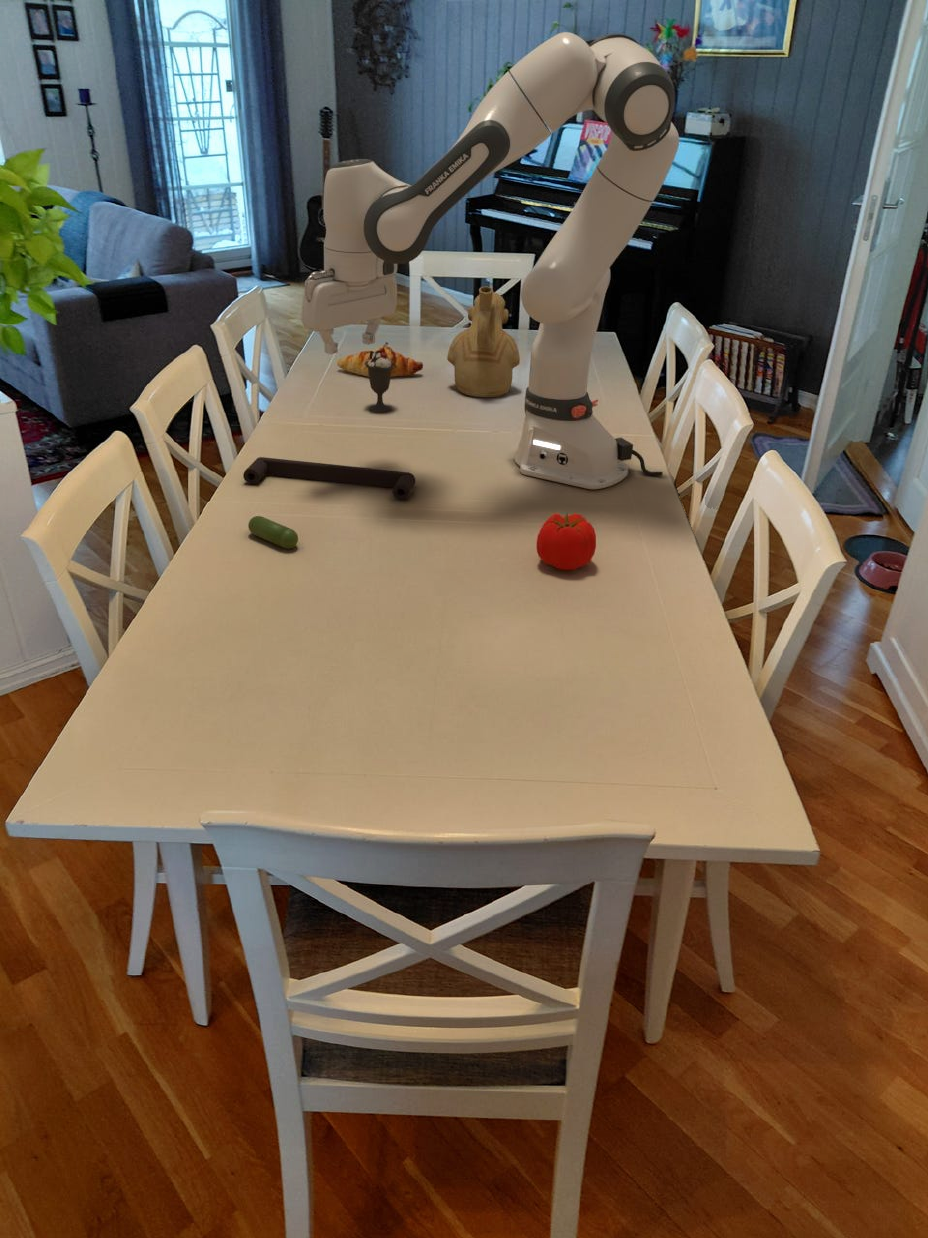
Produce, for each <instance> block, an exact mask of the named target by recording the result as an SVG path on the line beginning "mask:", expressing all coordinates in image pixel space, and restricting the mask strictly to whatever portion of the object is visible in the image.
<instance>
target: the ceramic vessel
mask: <svg viewBox="0 0 928 1238" xmlns="http://www.w3.org/2000/svg"><path fill="white" fill-rule="evenodd" d="M478 293H479V294H478V295H477V296H476V297H475V299H474V301H473V303H474V305H471V306H469V308H468V311H467V318H468V321H469V322H471V324H470V326H469V327H468V328H466V329H464V330H462V331H460V332H459V333H457V335H456V336H455V337H454V338H453V339H452V342H451V344H450V346H449V348H448V351H447V357H446V359H447V362H449V363H450V364H451V365H452V366H453V369H454V370H453V371H454V372H453V373H454V375H453V376H454V384H455V387H456V389H457V390H458V391H459V392H460V393H462V394H463V395H467V396H469V397H476V398H499V397H501V396H504V395H505V394H507V393H508V392H509V390H510V389H511V387H512V384H513V373H514V372H513V371H514V370H513V369H514V368H516V367H518V366H519V365H520V362H521V359H520V352H519V348H518V345H517V343H516V340H515V339H514V337H513V336H512V335H510V333H507V332H506V331H505V330H504V329H503V325H505V324H507V322H508V321H509V310H508V309H507V308H505V306H506V301H505V299H504V298H503V296H502V295H500V294H499V293H497V292H495V291H494V290H493V288H492V287H491V286H481V287H479V288H478Z"/></svg>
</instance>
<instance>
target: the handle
mask: <svg viewBox="0 0 928 1238" xmlns="http://www.w3.org/2000/svg"><path fill="white" fill-rule="evenodd" d="M242 474H243V479H244V482H245V483H247V484H249V485H255V484H257V483H258V482H260V480H261V479H262V478H263V477H264V476H265V475H266V476H276V477H284V478H285V477H286V478H295V479H306V480H313V481H321V482H323V481H324V482H332V483H343V484H350V485H351V484H353V485H359V486H360V485H362V486H369V487H380V488H388V489H392V495H393V497H394V498H395V499H397V500H398V501H404V500H407V499H408V498H409V496H410V494H411V492H412V490H413V488H414V487H415V485H416V481H417V479H416V477H415V474H413V473H412V472H409V471H401V470H389V469H381V468H380V469H379V468H371V467H361V466H353V465H351V466H350V465H343V464H332V463H323V462H314V461H313V462H312V461H303V460H294V459H293V460H292V459H285V458H284V459H282V458H275V457H274V458H273V457H266V456H265V457H264V456H259V457H257V458H256V459H255V460H253V462H252V463H251V464H250V465H248V467H247V468H246V469H245V470H244V471H243V473H242Z"/></svg>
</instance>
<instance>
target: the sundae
mask: <svg viewBox="0 0 928 1238" xmlns="http://www.w3.org/2000/svg"><path fill="white" fill-rule="evenodd" d="M382 346H383V347H384V348H385V346H389V342H387V341H385V344H384V345H382ZM384 348H381V349H380V350H378V351H375V352H373V351H374V350H369V351H370V359H369V361H366V362H365V363H364V364H365V366H366V367H367V368H368V373H369V377H368V381H369V385H370V388H371V390H372V391H373V393H375V394H376V396H377V399H376V403H375V404H372V405H370V406H369V407H368V410H369V412H373V413H379V414H380V413H387V412H390V411H391V410H392V408H391V406H389V405H386V404H385V403H384V399H383V395H384V393H386V392H387V391H388V390H389V388H390V384H391V378H392V377H391V371H392V368H393V367H394V366H395V365H396V364H395V363H393V362H391V361H390V359H389V358H388V355H387V353H386V352H385V349H384Z"/></svg>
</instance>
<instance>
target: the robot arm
mask: <svg viewBox="0 0 928 1238" xmlns="http://www.w3.org/2000/svg"><path fill="white" fill-rule="evenodd" d="M674 86H675V85H674V84H673V81H672V78H671V76H670V74H669V73H668V71H667V70H666V69H665V68H664V67H663V66H662V64H661V63H660V61H659V60H658V59H657V58H656V56H655V55H654V54H653V53H652V52H651V51H649V50H648V49H646V48H645V47H643V46H641V45H640V44H639V42H638V41H637V40H635V39H634V37H631V36H629V35H626V34H625V33H624V34H623V33H615V32H614V33H608V34H604V35H601V36H599V37H596V38H594V39H589V40H586V41H585V40H584V39H583V38H582V37H580V36H579V35H577V34H575V33H572V32H569V31H563V32H559V33H557V34H555V35H553V36H552V37H550V38H549V39H547V40H546V41H544V42H542V43H541V44H540V45H538V46H537V47H535V48H534V49H532V50H531V51H530V52H528V53H527V54H526V55H525V56H524V57H522V58H521V59H520V60H519V61H517V62H516V63H515V64H514V65H513V66H511V68H509V70H507V72H505V74H503V75H502V76H501V77H500V78H499V79H498V81H497V82H496V83H495V84H494V85H492V87H491V89H490V90H489V91H488V92H487V93H486V94H485V96H484V97H483V98H482V100H481V101H480V103H479V104H478V106H477V107H476V109H475V110H474V112H473V114H472V116H471V117H470V119H469V122H468V123H467V125H466V127H465V129H464V130H463V132H462V133H461V135H460V136H459V138H458V139H457V141H456V142H455V143H454V144H453V145H452V147H451V148H450V149H449V150H448V151H447V152H446V153H445V154H444V155H443V156H442V157H440V158H439V159H438V160H437V161H436V162H435V163H434V164H433V165H432V166H431V167H430V168H429V169H427V171H425V173H423V174H422V175H421V177H419V178H418V179H417V180H416V181H415V182H414V183H412V184H408V183H406V182H404V181H402V180H399V179H398V178H395V177H393V176H392V175H390V174H389V173H387V172H385V171H384V170H383V169H381V168H380V167H379V166H378V165H377V164H376V163H375V161H373V160H372V159H368V158H355V159H347V160H343V161H338V162H336V163H335V164H333V165H332V166H331V167H330V168H329V169H328V170H327V172H326V175H325V178H324V179H325V180H324V186H323V189H324V190H323V222H324V224H325V237H324V241H323V270H321V271H312V272H311V273H310V274H309V276H308V277H307V278H306V280H305V281H304V289H303V294H302V303H301V324H302V325H303V327H304V328H305V329H306V330H309V331H313V332H318V334H319V336H320V338H321V340H322V342H323V343H324V353H325V354H328V355H334V354H336V353H337V354H338V348H339V347H338V346H339V343H338V342H335V341H334V339H333V337H332V335H334V332H335V331H334V329H336V328H342V327H345V326H349V325H354V324H358V323H363V322H366V323H367V326H366V328H365V332H362V333H361V334H362V335H361V337H362V339H361V341H362V343H363V344H364V345H373V344H375V343H376V333H377V331H378V329H379V327H380V325H381V318H384V317H388V316H392V315H393V314H394V313H395V311H396V309H397V305H398V304H397V303H398V280H397V278H396V276H395V275H396V274H397V272H398V265H403V264H407V263H410V262H413V261H414V260H416V258H418V257H419V256H420V255H421V254H422V252H423V251H424V250H425V247H426V246H427V244H428V241H429V239H430V236H431V234H432V232H433V230H434V228H435V226H436V225H437V224H438V222H439V221H440V220H441V219H442V218H443V217H444V216H445V215H446V214H447V213H448V212H449V211H450V210H451V209H452V208H454V206H455V205H457V203H459V202H460V201H461V200H462V199H463V198H464V197H465V196H466V195H467V194H469V193H470V192H471V191H472V190H473V189H474V188H475V187H476V186H478V184H480V183H481V182H482V181H484V180H485V179H486V178H488V177H489V176H491V175H493V174H494V173H496V172H498V171H499V170H502V169H503V168H505V167H507V166H509V165H510V164H512V163H514V162H516V161H517V160H520V159H522V157H524V156H526V155H527V154H529V153H531V152H532V151H533V150H535V149H536V148H537V147H539V146H541V144H543V143H544V142H546V140H548V139H549V138H550V137H551V136H552V135H553V134H554V133H555V132H556V131H558V130H559V129H560V128H561V127H562V126H563V125H564V124H565V123H566V122H567V121H568V120H569V119H571V118H573V117H574V116H576V115H577V114H580V113H583V112H586V111H593V112H595V114H596V115H597V116H598V117H599V119H601V120H602V121H603V122H605V123H606V124H607V126H608V127H609V129H610V130H611V134H610V139H609V142H608V145H607V148H606V150H605V151H604V153H603V155H602V156H601V158H600V160H599V161H598V163H597V165H596V167H595V168H594V171H593V172H592V174H591V176H590V178H589V180H588V181H587V183H586V185H585V187H584V189H583V191H582V193H581V194H580V196H579V198H578V200H577V201H576V203H575V205H574V207H573V208H572V210H571V211H570V213H569V215H568V216H567V217H566V219H565V220H564V222H563V223H562V224H561V226H560V227H559V228H558V230H557V231H556V233H555V234H554V236H553V237H552V238H551V240H550V241H549V243H548V244H547V246H546V248H545V249H544V251H542V253H541V255H540V257H539V258H538V260H537V261H536V263H535V265H534V266H533V267H532V268H531V270H530V271H529V273H528V274H527V275H526V277H525V278H524V280H523V282H522V285H521V290H520V300H521V304H522V307H523V309H524V311H525V312H526V313H527V315H528V316H529V317H530V318H531V319H532V320H534V321H536V322H538V323H539V326H538V329H537V333H536V336H535V339H534V340H533V343H532V345H531V351H530V363H529V374H528V375H529V376H528V387H527V388H526V389H525V396H524V415H525V416H524V420H523V421H524V422H523V428H522V432H521V436H520V441H519V443H518V447H517V448H516V449H517V450H516V453H515V455H514V458H513V459H514V462H515V463H516V464H517V465H518V466H519V473H521V474H522V475H524V476H529V477H533V478H538V479H543V480H546V481H551V482H555V483H560V484H565V485H570V486H574V487H577V488H581V489H582V488H583V489H586V490H600V489H605V488H609V487H611V486H614V485H616V484H618V483H620V482H621V481H623V480H624V479H625V478H626V477H627V476H628V475H629V465H627V464H626V463H623V461H630V460H632V458H633V457H632V456H635V457H636V459H638V460H639V464H640V469H641V472H642V473H643V474H645V475H647V476H650V477H657V476H659V477H662V476H663V473H664V472H663V471H650V470H648V469H646V464H645V459H644V457H643V455H641V454H640V453H639V452H638V451H636V450H634V444H633V443H631V442H630V441H628V440H627V439H625V438H623V437H614V436H613V435H612V434H611V433H610V432H609V431H608V429H606V427H605V426H603V424H602V423H601V422H600V421H599V419H597V417H596V416H595V415H594V414H593V413H594V412H593V408H594V407H597V406H598V405H599V404H598V402H599V399H595V400H593V401H592V400H591V398H590V396H589V393H588V383H589V374H590V367H591V366H590V365H591V357H592V351H593V347H594V342H595V338H596V334H597V331H598V327H599V323H600V320H601V315H602V311H603V307H604V302H605V297H606V293H607V290H608V288H609V286H610V283H611V266H612V265H613V264H614V263H615V261H616V259H617V258H618V257H619V255H621V253H622V251H624V249H625V248H626V246H627V245H628V244H629V243H630V241H631V239H632V238H633V236H634V234H635V233H636V231H637V230H638V228H639V226H640V224H641V223H642V221H643V220H644V218H645V216H646V214H647V213H648V211H649V209H650V208H651V206H652V204H653V203H654V201H655V199H656V198H657V196H658V194H659V192H660V190H661V189H662V187H663V184H664V183H665V180H666V179H667V176H668V174H669V172H670V170H671V168H672V165H673V162H674V160H675V158H676V155H677V152H678V149H679V146H680V136H679V131H678V130H677V128H676V126H675V125H674V123H673V122H672V118H673V116H674V112H675V105H676V91H675V87H674Z"/></svg>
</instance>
